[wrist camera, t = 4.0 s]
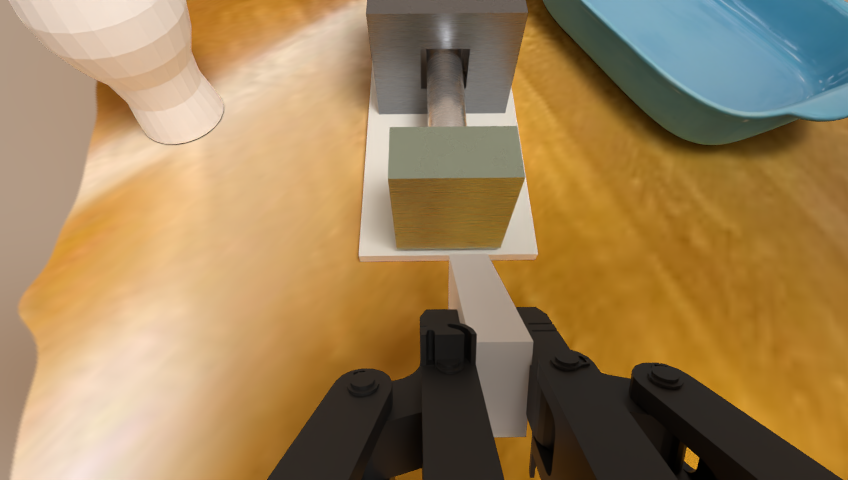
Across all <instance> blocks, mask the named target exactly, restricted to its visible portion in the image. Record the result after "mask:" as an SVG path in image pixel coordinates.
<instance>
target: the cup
mask: <svg viewBox="0 0 848 480" xmlns="http://www.w3.org/2000/svg"><path fill="white" fill-rule="evenodd" d="M8 1H9V3H10V4H11V6H12V8H13V9H14V11H15V13H16V14H17V16H18V17H19V19H20V20H21V22H23V24H24V25H25V26H26V27H27V28H28V29H29V30H30V31H31V32H32V33H33V35H34V36H35V37H36V38H37V39H38V40H39V41H40V42H41V43H42V44H43V45H44V46H45V47H46V48H47V49H48V50H50V51H51V52H53V53H54V54H55V55H57V56H58V57H60V58H61V59H63V60H64V61H66V62H67V63H69V64H70V65H72V66H73V67H74V68H76V69H77V70H79V71H81V72H82V73H84V74H86V75H88V76H90V77H92V78H94V79H96V80H98V81H100V82H102V83H105V84H107V85H108V86H110V87H111V88H112V89H113V90H114V91H115V92H116V93H117V94H118V95H119V96H120V97H121V98H123V99H124V100H125V101H126V102H127V103H128V105H129V107H130V109H131V111H132V113H133V114H134V116H135V118H136V120H137V121H138V123H139V124H140V126H141V128H142V129H143V131H144V132H145V133H146V135H147V136H148V137H149V138H151V139H152V140H154V141H156V142H160V143H163V144H180V143H186V142H189V141H192V140H195V139H198V138H199V137H201V136H203V135H205V134H207V133H208V132H209V131H210V130H211V129H213V128H214V127H215V126H216V124H217V123H218V122H219V120H220V119H221V116H222V114H223V107H224V104H223V102H222V99H221V97H220V96H219V94H218V93H217V92H216V90H215V89H214V88H213V86H212V85H211V84H210V83H209V82H208V80H207V79H206V78H205V77H204V76H203V74H202V73H201V72H200V71H199V69H198V66H197V64H196V61H195V59H194V56H193V54H192V51H191V22H190V17H189V13H188V8H187V3H186V0H8Z"/></svg>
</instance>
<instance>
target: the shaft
mask: <svg viewBox="0 0 848 480" xmlns="http://www.w3.org/2000/svg"><path fill="white" fill-rule="evenodd" d="M426 62H427V108H428V127H390V132H389V159H388V184H389V192H390V200H391V208H392V216H393V223H394V231H395V239H396V247H397V249H476V248H501V245H502V242H503V239H504V236H505V234H506V231H507V228H508V225H509V222H510V219H511V217H512V214H513V211H514V208H515V205H516V202H517V200H518V197H519V194H520V191H521V188H522V185H523V182H524V180H525V172H524V166H523V160H522V153H521V147H520V141H519V134H518V128H517V126H467V121H466V109H465V96H464V84H463V72H462V60H461V49H426Z"/></svg>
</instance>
